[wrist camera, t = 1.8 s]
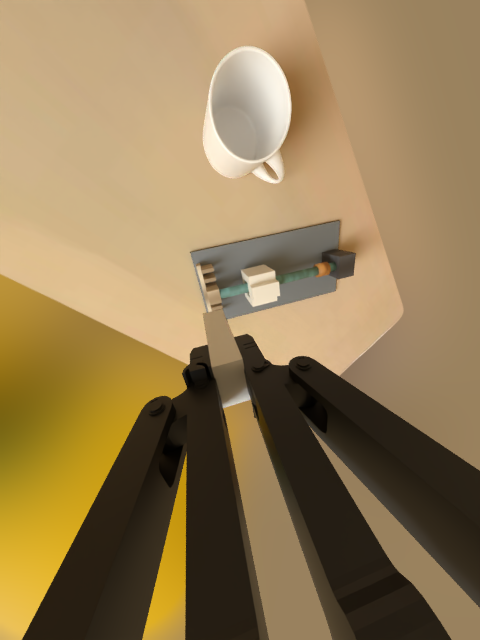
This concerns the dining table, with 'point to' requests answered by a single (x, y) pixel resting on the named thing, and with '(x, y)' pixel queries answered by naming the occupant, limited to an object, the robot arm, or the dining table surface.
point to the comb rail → (332, 265)
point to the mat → (272, 265)
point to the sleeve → (260, 285)
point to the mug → (247, 115)
